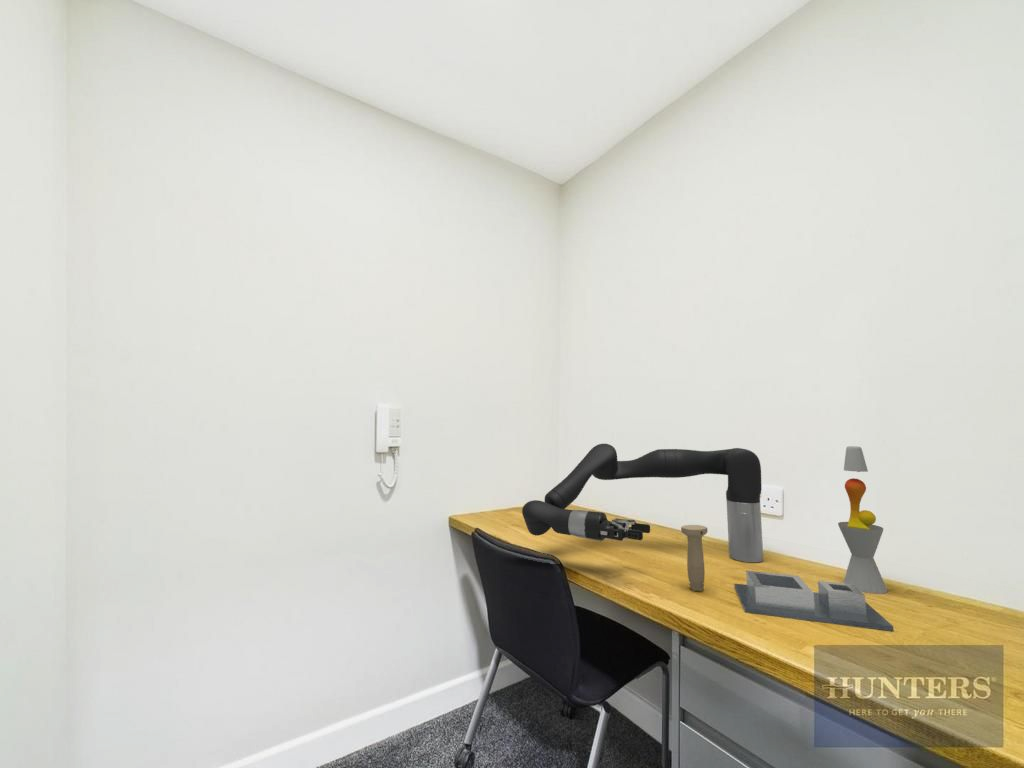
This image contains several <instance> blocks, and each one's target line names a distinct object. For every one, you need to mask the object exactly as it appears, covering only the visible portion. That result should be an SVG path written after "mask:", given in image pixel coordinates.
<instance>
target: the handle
mask: <svg viewBox="0 0 1024 768" xmlns="http://www.w3.org/2000/svg"><path fill="white" fill-rule="evenodd" d="M680 531H681V533H683V534H684V535H685V536H686V538H687V552H686V553H687V554H686V555H687V557H686V561H687V563H686V564H687V565H686V566H687V578H688V583H689V584H688V585H689V589H690V590H693V592H703V590H704V588H705V585H704V584H705V574H706V573H705V558H704V550H703V549H704V548H703V536H706V534H707V533H708V526H704V525H699V524H688V525H687V524H686V525H682V526H681V527H680Z"/></svg>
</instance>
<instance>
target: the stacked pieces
mask: <svg viewBox="0 0 1024 768" xmlns="http://www.w3.org/2000/svg"><path fill="white" fill-rule="evenodd" d="M843 471H846V472H856V473H860V472H863V473H865V472H869V470H868V466H867V463H866V459H865V454H864V453H863V449H862V447H861V446H852V445H851V446H850V445H849V446H846V449H845V456H844V465H843ZM844 488H845V489H844V490H845V492H846V494H847V497H848V500H849V503H850V504H849V506H850V514H849V519H848V521H840V522H837V524H838V528H839V530H840V532H841V534H842V536H843V539H844V540H845V543H846V545H847V547H848V549H849V551H850V553H851V556H850V558H849V562H848V565H847V569H846V572H845V576H844V578H843V581H842V583H845V584H852V585H854V586H855V587H856V588H857V589H858V590H860V591H861V592H862V593H869V594H879V595H880V594H882V595H883V594H887V593H888V592H889V590H888V589H887V588H888V587H886V584H885V581H884V580H883V577H882V574H881V573H880V570H879V567H878V566H877V563H876V561H875V559H874V557H875V554H876V551H877V549H878V546H879V543H880V540H881V537H882V535H883V532H884V528H883V527H882V526H879V525H875V523H876V521H877V518H876V515H875V514H874V513H873V512H872V511H870V510H864V509H863V510H861V511H860V504H861V501H862V499H863V496H864V495H865V493H866V492H867V487H866V484H865V482H864V481H862V480H861V479H859V478H849V479H847V480H846V482H844Z"/></svg>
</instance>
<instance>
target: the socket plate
mask: <svg viewBox="0 0 1024 768" xmlns="http://www.w3.org/2000/svg"><path fill="white" fill-rule="evenodd" d="M745 572H746V573H745V576H746V577H745V579H746V584H742V583H734V584H733V585H734V589H735V592H736V593H737V596H738V599H739V601H740V603H741V606H742V608H743V610H744V612H745V613H747V612H748V614H749V613H750V614H755V615H757V614H758V615H764V616H770V617H771V616H773V617H779V618H788V619H793V620H794V619H795V620H803V621H811V622H819V623H826V624H832V623H833V624H834V625H840V626H849V627H857V628H864V629H865V628H866V629H873V630H880V631H886V632H888V631H889V632H894V625H892V624H891V623H890V622H889V621H888V620H887V619H886V618H884V616H882V615H881V614H880V613H879V612H877V610H876V609H874V608H873V607H872V606H871V605H870V604H868V602H866V595H865V593H864V592H862V591H860V590H858V589H857V588H856V587H855V586H854V585H852V584H845V583H843V582H834V581H824V580H817V585H818V586H817V587H818V589H817V590H818V591H817V592H816V591H812V589H811V588H810V587H809V586H808V585H807V584H806V583H805V582H804V581H803V579H802V578H801V577H800V576H799V575H793V574H792V575H791V574H784V573H775V572H774V573H773V572H764V571H753V570H745Z"/></svg>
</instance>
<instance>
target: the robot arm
mask: <svg viewBox="0 0 1024 768" xmlns="http://www.w3.org/2000/svg"><path fill="white" fill-rule="evenodd" d="M617 453H618V452H617V450H616V448H615V447H614V446H613V445H611V444H608V443H599V444H596V445H595V446H593V447H591V449H590V450H589V451H588V452H587V453H586V454H585V455H584V457H583V458H582V459H581V460H580V462H579V463H577V465H575V467H574V468H573V469H572V471H571V472H570V473H569V474H567V476H566V477H565V478H564V479H562V480H561V481H560V482H559V483H558V484H556V485H555V486H554V487H553V488H552V489H551V490H549V491H548V492H547V493H546V494H545V496H544V501H542V500H537V499H535V500H534V499H533V500H529V501H527V502H526V503H524V505H523V506H522V508H521V514H522V517H523V520H524V522H525V526H526V527H527V530H528V532H529V533H530V534H531V535H532V536H535V537H536V536H541V535H544V534H546V533H547V532H548V531H549V530H550V529H552V530H553V532H554V533H557V534H561V535H566V536H573V537H576V538H580V539H588V540H595V541H600V542H601V541H604V540H605V539H608V540H615V541H623V540H624V541H625V540H628V539H629V540H637V541H642V540H643V539H644V533H645V534H650V533H651V525H650V524H647V523H640V522H639V523H638V522H637V521H636V520H635V519H623V518H614V519H611V520H608V517H607V515H606V513H605V512H601V511H593V510H584V509H568V507H569V506H570V505H571V504H572V503H573V502H574V501H575V500H576V499H577V498H578V497H579V495H580V494H581V493H582V491H583V489H584V487H585V486H586V484H587V482H588V481H589V480H590V478H591V477H592V476H593V477H594V478H595V479H598V480H603V481H612V480H613V481H614V480H622V479H623V480H624V479H635V478H636V479H638V478H640V479H641V478H662V479H663V478H666V479H667V478H670V479H671V478H672V479H673V478H674V479H675V478H676V479H677V478H689V477H695V476H700V475H724V476H727V489H726V491H725V496H726V497H725V498H726V499H725V500H726V515H727V516H726V518H727V537H728V539H727V540H728V556H729V557H730V558H731V559H733V560H736V561H740V562H746V563H760V562H763V561H764V549H763V547H764V544H763V529H762V527H763V525H762V512H761V494H762V466H761V461H760V459H759V457H758V455H757V454H756V453H755V452H753V451H752V450H749V449H746V448H741V447H733V448H729V449H720V450H719V449H717V450H696V449H681V448H664V449H663V448H661V449H658V448H657V449H655V450H651V451H649V452H647V453H646V454H643V455H641V456H639V457H638V458H634V459H631V460H618V454H617ZM566 508H567V509H566Z"/></svg>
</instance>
